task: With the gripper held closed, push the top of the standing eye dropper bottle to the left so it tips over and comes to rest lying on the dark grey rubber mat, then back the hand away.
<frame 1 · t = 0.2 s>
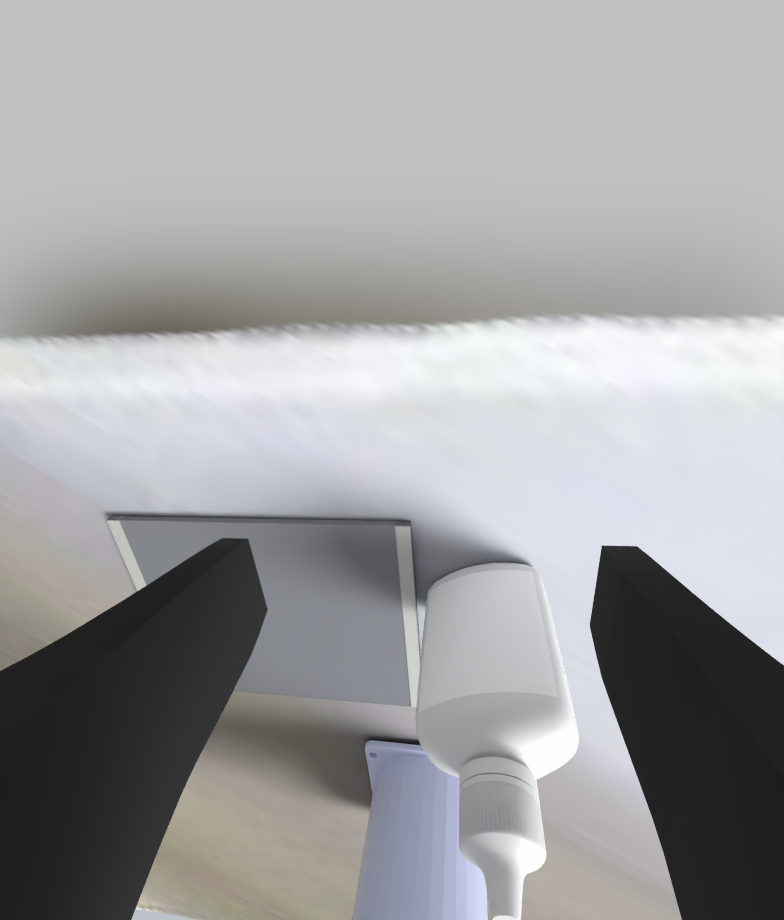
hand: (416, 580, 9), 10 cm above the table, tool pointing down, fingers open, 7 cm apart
eye dropper bottle: (485, 586, 22), on the table
mat: (277, 614, 25), on the table
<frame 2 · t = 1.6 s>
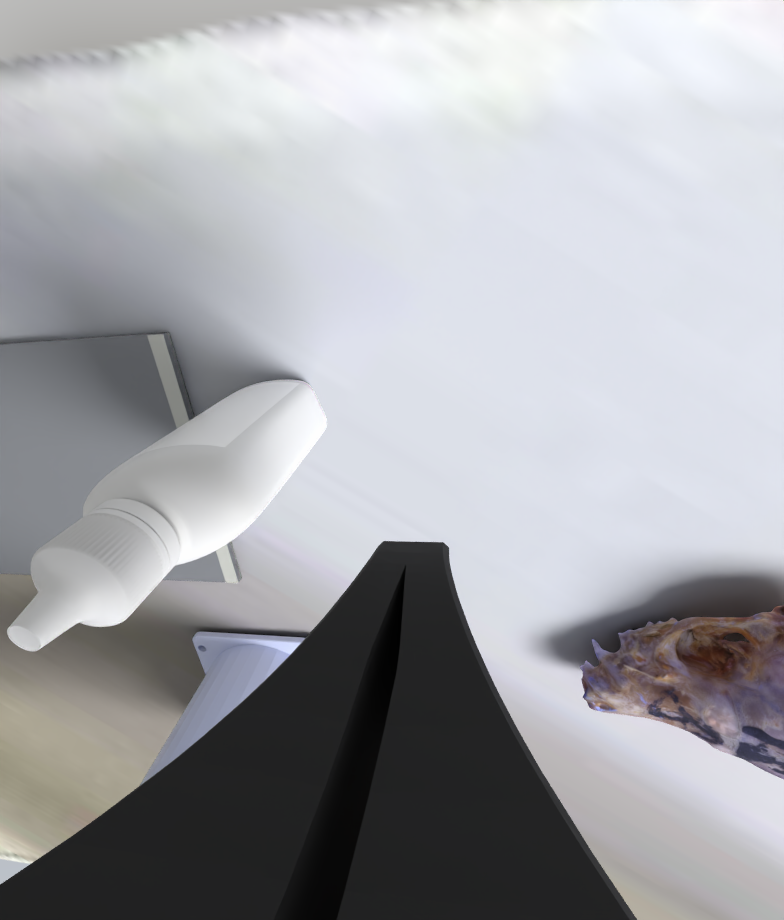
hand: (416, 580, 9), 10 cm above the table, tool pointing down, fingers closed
eye dropper bottle: (270, 418, 19), on the table
skull: (700, 636, 21), on the table
mat: (66, 472, 22), on the table
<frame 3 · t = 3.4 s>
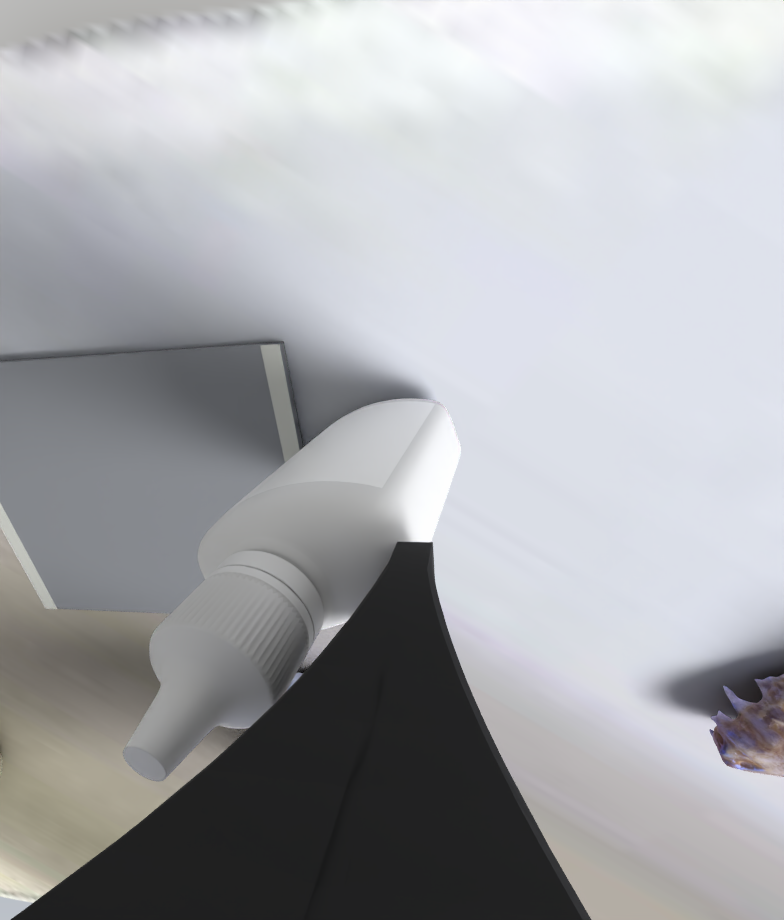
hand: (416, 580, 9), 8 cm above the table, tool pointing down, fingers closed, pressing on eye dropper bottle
eye dropper bottle: (388, 442, 17), on the table, touching gripper
mat: (144, 499, 20), on the table
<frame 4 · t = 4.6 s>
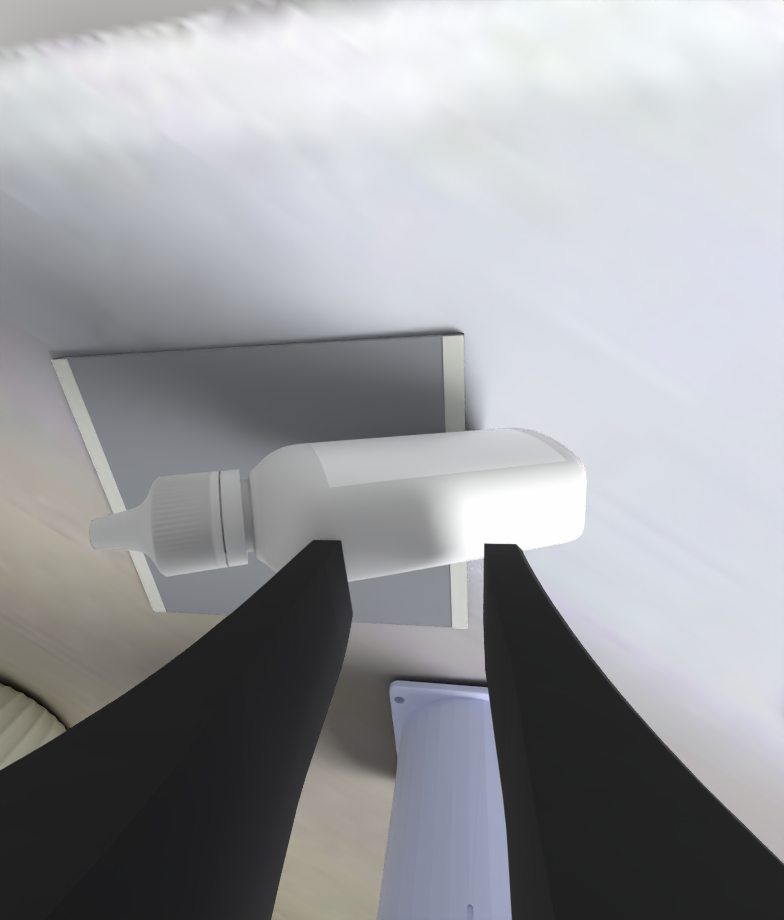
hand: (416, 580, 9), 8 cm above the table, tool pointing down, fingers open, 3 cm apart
eye dropper bottle: (534, 480, 14), point 2 cm above the table, touching gripper, mat
canister: (11, 722, 31), on the table
mat: (278, 498, 19), on the table
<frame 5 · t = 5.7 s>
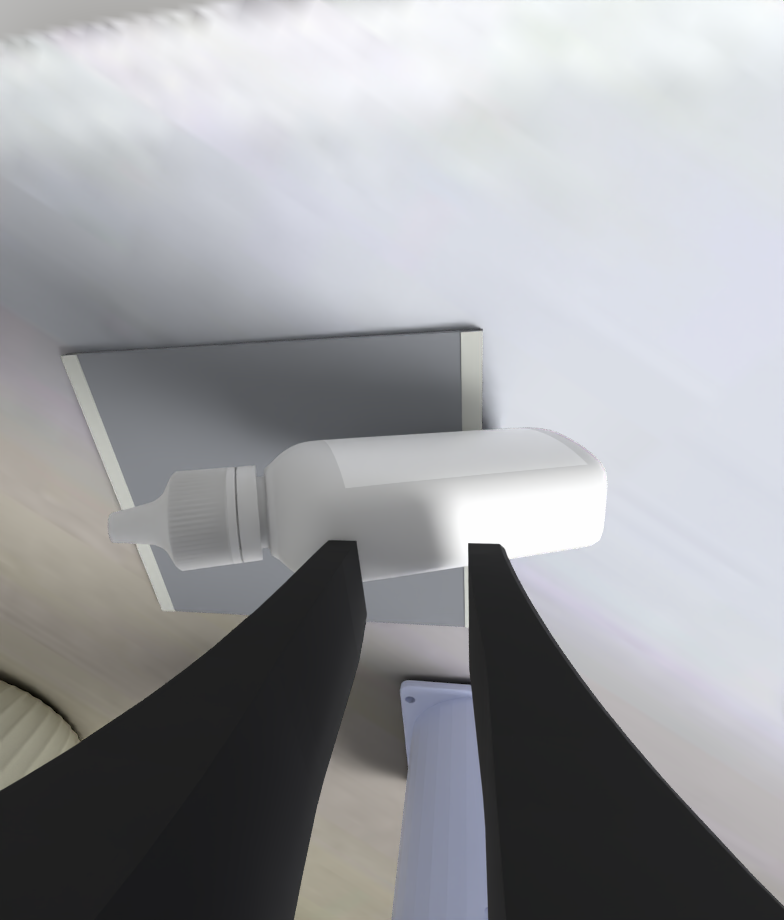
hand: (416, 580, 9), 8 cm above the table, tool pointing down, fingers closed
eye dropper bottle: (552, 481, 14), point 2 cm above the table, touching gripper, mat
canister: (16, 721, 31), on the table
mat: (290, 497, 19), on the table
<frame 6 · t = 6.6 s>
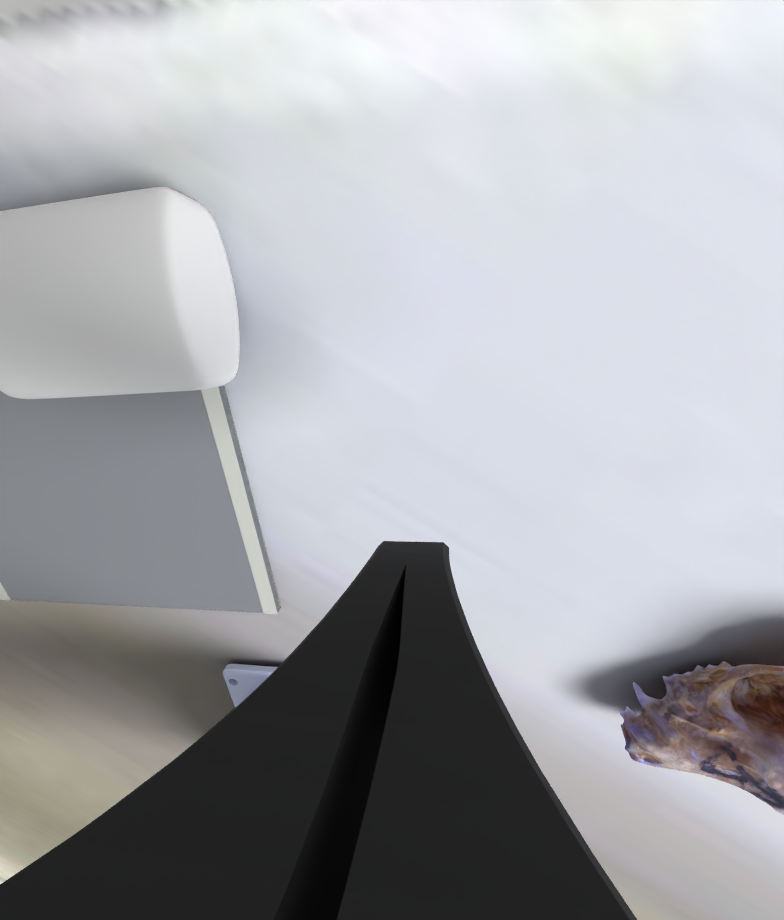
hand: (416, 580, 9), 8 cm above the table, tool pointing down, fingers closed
eye dropper bottle: (217, 293, 13), point 2 cm above the table, touching mat
skull: (752, 679, 19), on the table
mat: (87, 491, 20), on the table
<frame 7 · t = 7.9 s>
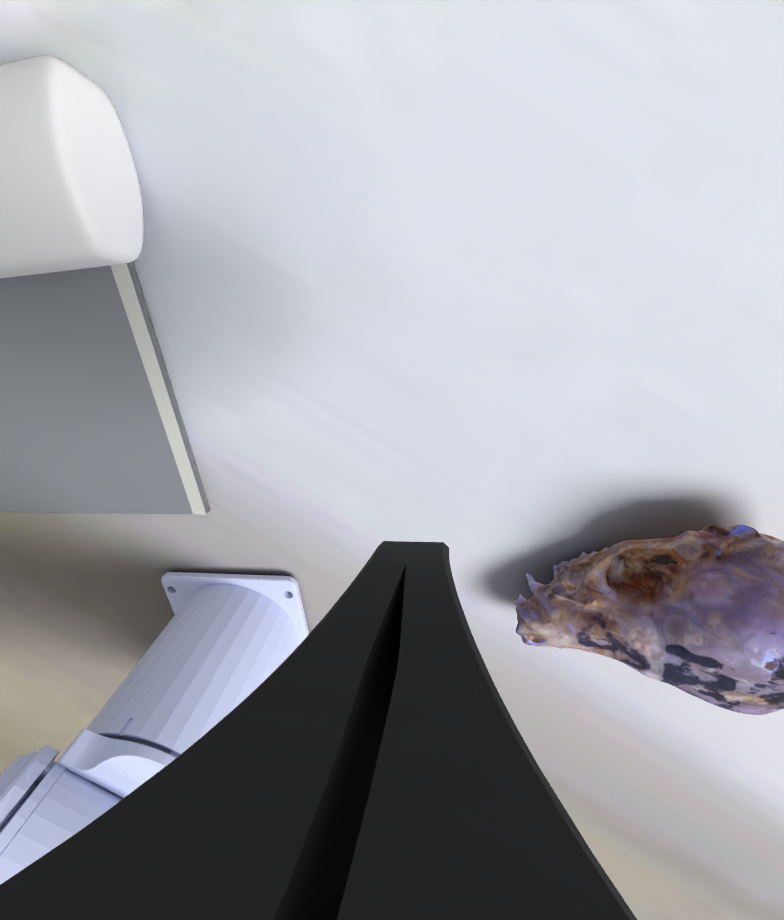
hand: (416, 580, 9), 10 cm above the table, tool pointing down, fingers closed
eye dropper bottle: (111, 166, 14), point 2 cm above the table, touching mat
skull: (639, 570, 21), on the table
mat: (23, 394, 21), on the table
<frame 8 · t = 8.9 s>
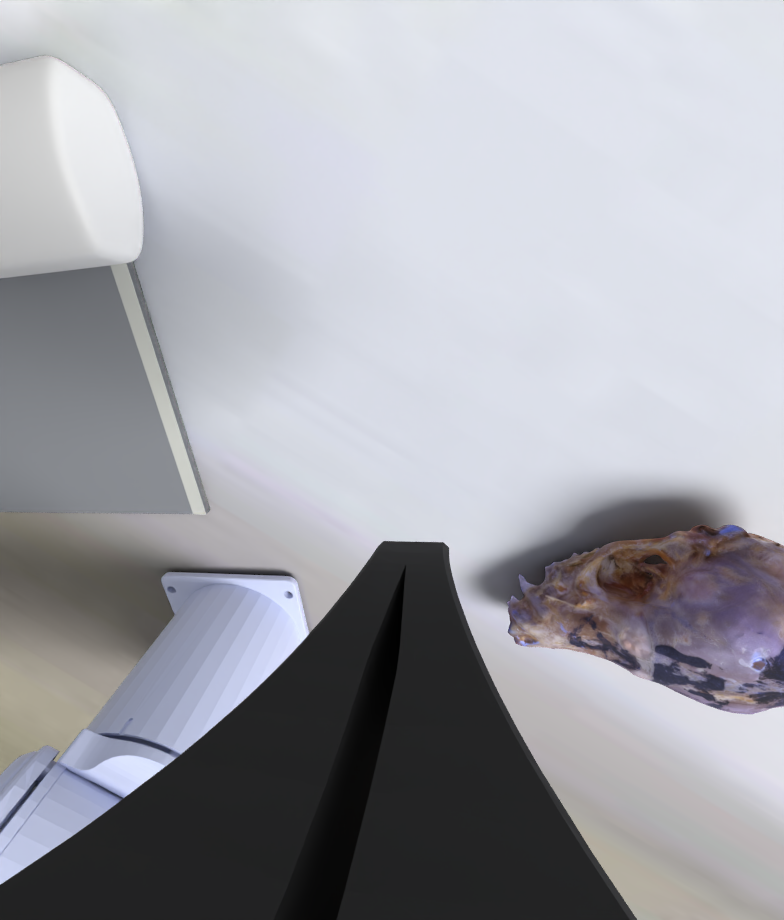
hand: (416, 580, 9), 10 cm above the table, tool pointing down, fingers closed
eye dropper bottle: (111, 166, 14), point 2 cm above the table, touching mat
skull: (630, 570, 21), on the table
mat: (23, 394, 21), on the table
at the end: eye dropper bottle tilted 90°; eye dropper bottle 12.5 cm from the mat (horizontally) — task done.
